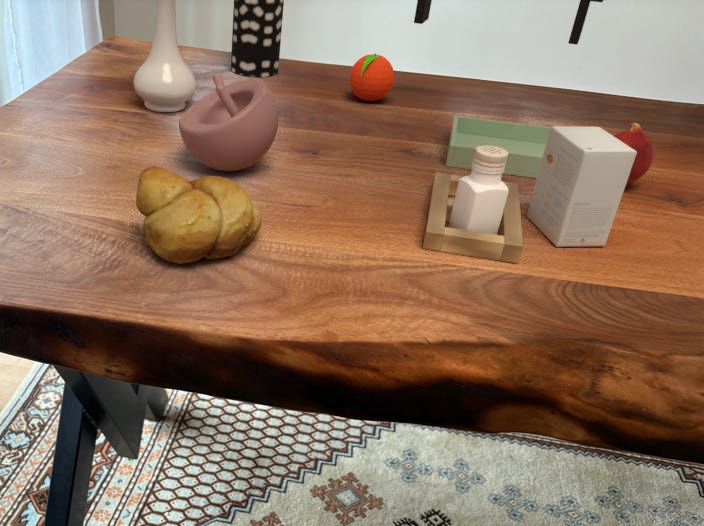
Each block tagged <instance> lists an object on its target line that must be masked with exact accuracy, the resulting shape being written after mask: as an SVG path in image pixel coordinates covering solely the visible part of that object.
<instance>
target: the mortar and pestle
mask: <svg viewBox="0 0 704 526" xmlns="http://www.w3.org/2000/svg"><path fill="white" fill-rule="evenodd" d="M212 80H213V84H214V86H215V90H214V91H212V92H210V93H208V94H206V95H204V96H203V97H201V98H199V100H197V101H196V102H194V103H193V104H192V105H191V106H190V107H189V108H187V109H186V111H184V112H183V113H182V115H181V116H180V118H179V119H178V129H179V133H180V136H181V139H182V141H183V144H184V146H185V147H186V149H187V151H188V152H189V153H190V154H191V155H192V156H193V158H195V159H196V160H197V161H198V162H199V163H201V164H202V165H203V166H206V167H207V168H210V169H213V170H217V171H220V172H237V171H241V170H244V169H247V168H249V167H251V166H252V165H254V164H256V163H258V162H259V161H260V160H261V159H262V158H264V156H265V155H267V153H268V151H269V150H270V148H271V147H272V145H273V143H274V141H275V138H276V135H277V133H278V129H279V128H278V127H279V109H278V105H277V102H276V99H275V97H274V94H273V93H272V90H271V89H270V88H269V86H268V85H267V83H265V81H264V80H263V79H258V77H253V78H247V79H243V80H239V81H236V82H232V83H230V84H228V85H225V83H224V80H223V78H222V75H221V74H220V73H219V72H218V73H213V75H212Z"/></svg>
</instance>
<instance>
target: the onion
mask: <svg viewBox="0 0 704 526" xmlns="http://www.w3.org/2000/svg"><path fill="white" fill-rule="evenodd" d="M613 136H614V137H615V138H617V139H618V140H620V141H622V142H623V143H625V144H626V145H628V146H629V147H631V148H632V149H634V150H635V151H637V154H636V157H635V160H634V163H633V165H632V168H631V171H630V174H629V177H628V180H627V183H626V185H630V184H631V183H635V182H636V181H637V180H639V179H640V178H642V177H643V176H644V175H645V174H646V173H647V172H648V171H649V169H650V168H651V166H652V164H653V161H654V148H653V145H652V142H651V141H650V139H649V137H648V136H647V134H646V133H645V132H644V131H643V129H642V128H641V125H640V124H639V123H637V122H632V123H630V124H629V128H628V129H626V130H623V131H620V132H618V133H616V134H615V135H613Z"/></svg>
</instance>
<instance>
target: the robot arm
mask: <svg viewBox="0 0 704 526" xmlns="http://www.w3.org/2000/svg"><path fill="white" fill-rule="evenodd" d="M432 1H433V0H417V1H416V8H415V13H414V18H413V19H414V20H413V24H418V25H423V24H424V23H425V22H426V21H427V20H429V17H430V11H431V7H432ZM591 2H593V3H595V2H597V3H603V2H604V0H579V4H578V7H577V10H576V14H575V18H574V22H573V25H572V27H571V28H572V29H571V32H570V36H569V39H568V42H567V44H570V45H579V42H580V39H581V37H582V32H583V28H584V24H585V22H586V18H587V15H588V11H589V7H590V4H591Z"/></svg>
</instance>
